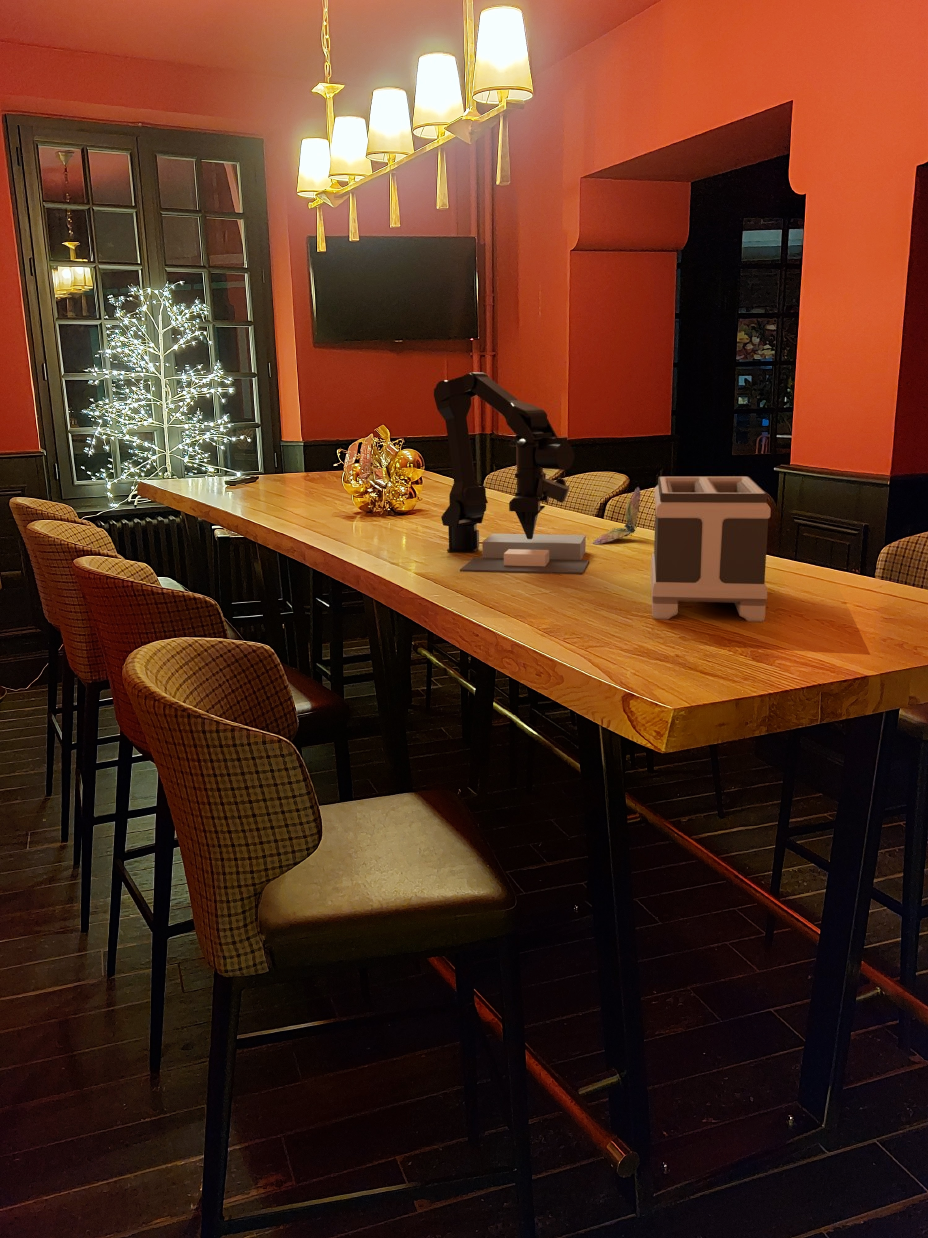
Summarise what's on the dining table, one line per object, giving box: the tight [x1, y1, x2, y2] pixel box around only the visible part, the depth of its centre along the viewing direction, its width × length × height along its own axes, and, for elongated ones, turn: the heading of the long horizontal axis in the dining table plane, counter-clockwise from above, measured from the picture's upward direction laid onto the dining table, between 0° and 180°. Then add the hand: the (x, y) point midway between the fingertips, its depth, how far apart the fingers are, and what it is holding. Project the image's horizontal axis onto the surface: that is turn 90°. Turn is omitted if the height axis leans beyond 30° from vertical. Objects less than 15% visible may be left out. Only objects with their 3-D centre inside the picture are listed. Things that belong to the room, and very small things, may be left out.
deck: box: [481, 533, 587, 560], centre depth 219 cm, size 22×12×4 cm, turn 77°
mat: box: [459, 557, 590, 575], centre depth 206 cm, size 26×14×1 cm, turn 77°
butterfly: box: [592, 486, 644, 545], centre depth 236 cm, size 17×10×10 cm
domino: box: [504, 549, 549, 566], centre depth 207 cm, size 9×6×3 cm, turn 77°
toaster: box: [650, 475, 772, 623], centre depth 171 cm, size 18×34×21 cm, turn 170°
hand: (530, 538), depth 211 cm, fingers closed
